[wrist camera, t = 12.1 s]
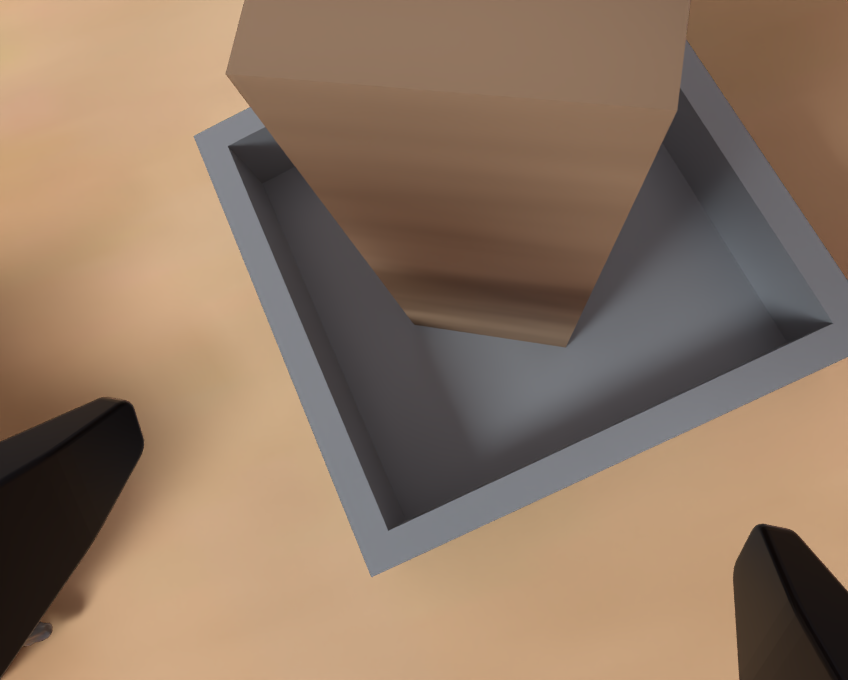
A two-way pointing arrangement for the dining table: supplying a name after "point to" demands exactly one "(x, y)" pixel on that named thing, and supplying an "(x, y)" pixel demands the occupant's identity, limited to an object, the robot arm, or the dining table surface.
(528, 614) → the dining table surface
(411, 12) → the walnut block
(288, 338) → the tray
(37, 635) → the lion figurine
